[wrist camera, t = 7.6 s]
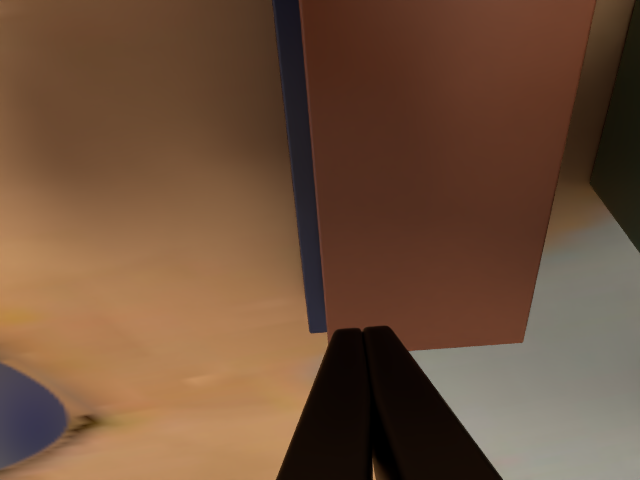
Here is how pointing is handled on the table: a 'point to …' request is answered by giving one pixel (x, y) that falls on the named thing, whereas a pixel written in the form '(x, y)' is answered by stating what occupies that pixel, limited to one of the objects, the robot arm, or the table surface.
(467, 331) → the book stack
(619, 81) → the tea box
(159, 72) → the table surface
